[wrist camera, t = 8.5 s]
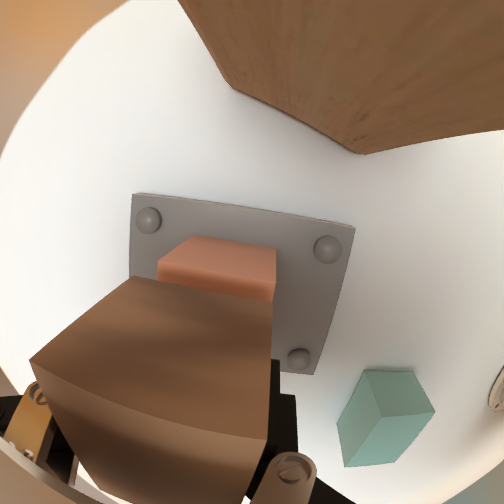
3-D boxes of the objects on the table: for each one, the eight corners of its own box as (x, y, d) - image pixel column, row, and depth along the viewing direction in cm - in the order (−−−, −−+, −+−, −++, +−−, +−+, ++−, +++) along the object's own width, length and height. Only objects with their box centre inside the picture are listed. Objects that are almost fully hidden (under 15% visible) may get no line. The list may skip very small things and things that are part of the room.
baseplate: (351, 225, 16) (391, 252, 10) (312, 366, 19) (321, 430, 13) (139, 192, 17) (78, 203, 11) (137, 332, 20) (97, 381, 14)
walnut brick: (272, 301, 9) (267, 439, 4) (244, 428, 11) (229, 528, 6) (133, 275, 9) (29, 359, 4) (144, 405, 11) (99, 489, 6)
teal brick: (412, 370, 19) (435, 411, 14) (381, 421, 21) (394, 462, 16) (363, 369, 19) (381, 417, 14) (336, 422, 21) (344, 467, 16)
